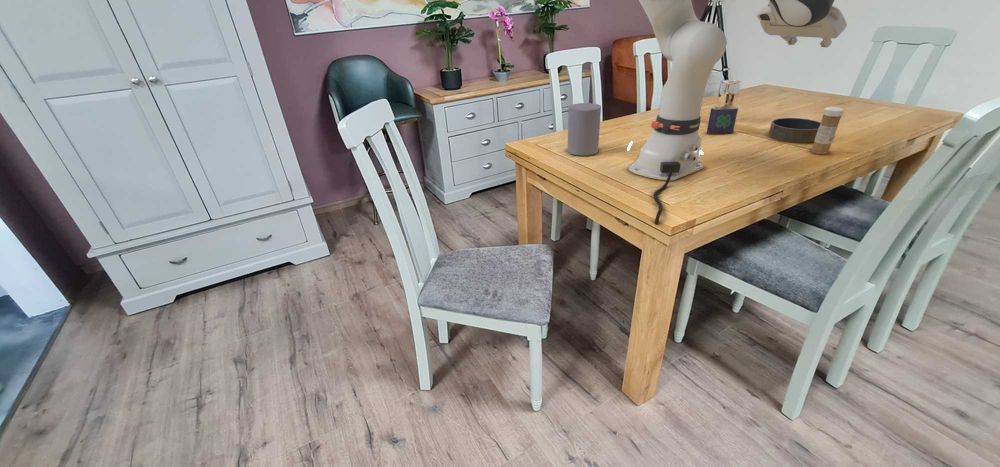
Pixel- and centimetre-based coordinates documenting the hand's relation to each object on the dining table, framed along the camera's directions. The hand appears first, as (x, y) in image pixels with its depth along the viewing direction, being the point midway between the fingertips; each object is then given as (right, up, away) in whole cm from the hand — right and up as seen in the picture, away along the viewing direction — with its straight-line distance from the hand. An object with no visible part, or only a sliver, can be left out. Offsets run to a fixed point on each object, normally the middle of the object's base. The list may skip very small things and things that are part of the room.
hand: (809, 44), depth 112 cm
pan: (+17, -18, +30) cm, 39 cm away
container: (-56, -24, +29) cm, 67 cm away
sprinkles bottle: (+15, -27, +16) cm, 34 cm away
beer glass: (+3, -7, +50) cm, 51 cm away
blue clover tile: (-4, -15, +38) cm, 41 cm away
